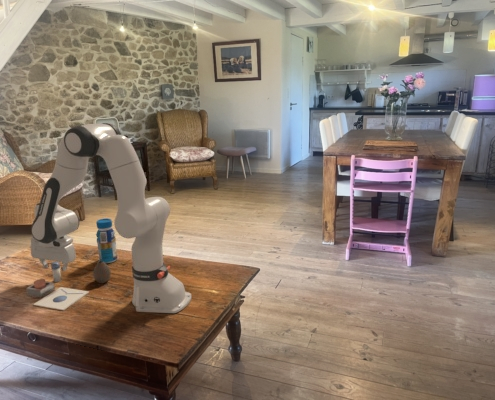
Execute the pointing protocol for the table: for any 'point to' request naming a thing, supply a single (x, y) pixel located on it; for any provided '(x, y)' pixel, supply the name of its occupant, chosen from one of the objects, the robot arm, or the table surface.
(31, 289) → the button housing
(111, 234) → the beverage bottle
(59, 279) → the dome-topped peg
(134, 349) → the table surface
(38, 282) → the button
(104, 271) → the vase
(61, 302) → the drawing pad
